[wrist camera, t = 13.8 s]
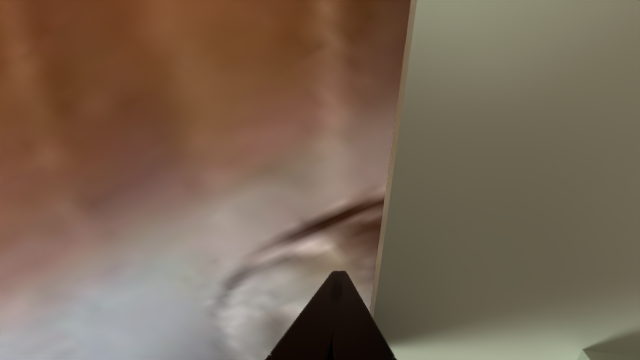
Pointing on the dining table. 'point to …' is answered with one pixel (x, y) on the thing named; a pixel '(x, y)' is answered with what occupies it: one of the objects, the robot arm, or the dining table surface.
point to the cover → (514, 184)
